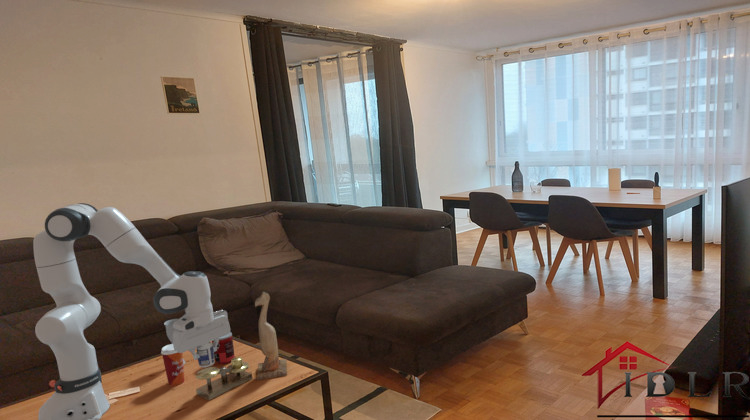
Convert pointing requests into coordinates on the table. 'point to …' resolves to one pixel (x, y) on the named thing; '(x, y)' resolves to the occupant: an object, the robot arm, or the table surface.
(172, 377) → the paper cup
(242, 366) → the balance
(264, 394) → the table surface
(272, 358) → the bird sculpture
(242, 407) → the table surface
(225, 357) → the canned food
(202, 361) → the pill bottle
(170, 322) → the chalice
